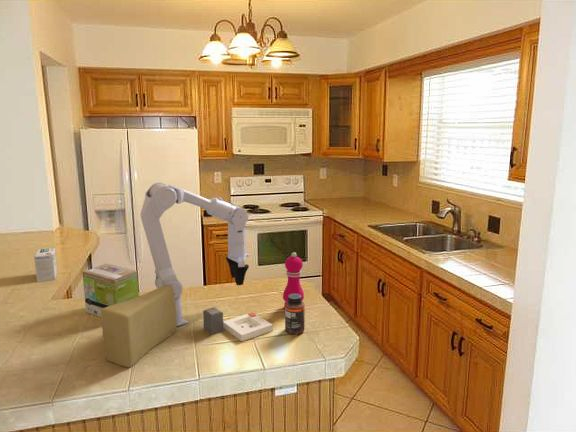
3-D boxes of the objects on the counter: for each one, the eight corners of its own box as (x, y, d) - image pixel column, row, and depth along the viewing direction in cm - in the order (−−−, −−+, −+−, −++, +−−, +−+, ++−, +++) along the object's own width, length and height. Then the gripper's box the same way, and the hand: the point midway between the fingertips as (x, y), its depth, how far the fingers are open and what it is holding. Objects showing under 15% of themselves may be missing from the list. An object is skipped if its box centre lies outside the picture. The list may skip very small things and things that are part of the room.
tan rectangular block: (163, 326, 132) (160, 280, 129) (187, 333, 127) (185, 286, 124) (103, 359, 113) (98, 307, 110) (129, 369, 108) (124, 315, 105)
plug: (211, 334, 127) (210, 315, 125) (203, 328, 131) (203, 309, 129) (223, 331, 129) (222, 311, 128) (215, 325, 133) (214, 306, 132)
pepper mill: (301, 313, 142) (302, 256, 138) (280, 311, 143) (281, 254, 139) (305, 304, 149) (306, 250, 145) (285, 303, 150) (285, 248, 146)
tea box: (84, 313, 141) (80, 270, 138) (110, 302, 149) (106, 262, 146) (116, 323, 134) (113, 278, 131) (141, 311, 143) (138, 269, 140)
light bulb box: (39, 274, 178) (36, 249, 175) (57, 271, 180) (54, 247, 178) (36, 282, 168) (33, 256, 166) (55, 279, 171) (53, 254, 169)
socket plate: (241, 341, 123) (241, 334, 122) (222, 327, 131) (222, 320, 131) (272, 330, 130) (272, 323, 129) (252, 318, 138) (252, 311, 138)
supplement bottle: (299, 324, 134) (300, 291, 131) (307, 333, 128) (308, 298, 126) (282, 327, 132) (282, 293, 129) (289, 336, 126) (289, 300, 124)
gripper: (253, 247, 136) (253, 287, 138) (243, 236, 149) (243, 272, 152) (232, 248, 133) (232, 289, 136) (223, 237, 147) (224, 274, 150)
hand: (237, 280), depth 144 cm, fingers open, 7 cm apart
